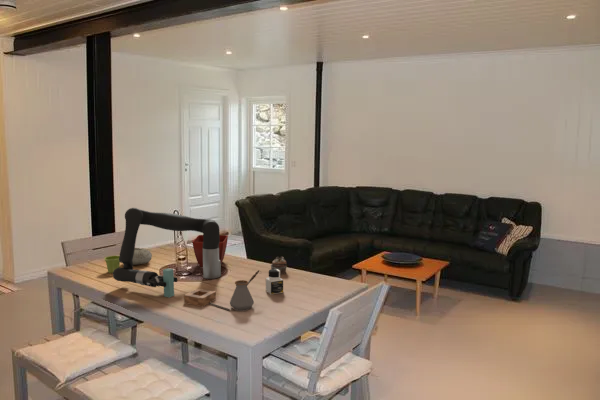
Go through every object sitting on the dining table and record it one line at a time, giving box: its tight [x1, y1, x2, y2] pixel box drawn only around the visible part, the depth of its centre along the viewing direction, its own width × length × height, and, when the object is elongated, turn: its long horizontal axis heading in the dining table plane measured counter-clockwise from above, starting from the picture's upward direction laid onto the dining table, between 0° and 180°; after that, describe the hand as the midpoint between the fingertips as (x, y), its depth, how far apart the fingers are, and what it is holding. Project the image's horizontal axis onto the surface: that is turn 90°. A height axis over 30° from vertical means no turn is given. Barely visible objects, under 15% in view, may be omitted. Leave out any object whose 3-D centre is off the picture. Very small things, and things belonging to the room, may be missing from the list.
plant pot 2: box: [192, 234, 229, 268], centre depth 309 cm, size 19×19×17 cm
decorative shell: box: [133, 247, 153, 266], centre depth 309 cm, size 18×18×10 cm
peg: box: [162, 267, 175, 298], centre depth 250 cm, size 4×4×14 cm
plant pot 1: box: [104, 255, 121, 274], centre depth 292 cm, size 9×9×9 cm
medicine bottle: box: [265, 268, 284, 295], centre depth 258 cm, size 7×7×12 cm
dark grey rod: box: [208, 302, 230, 312], centre depth 236 cm, size 14×1×1 cm, turn 51°
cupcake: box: [270, 256, 288, 276], centre depth 291 cm, size 10×10×10 cm
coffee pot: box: [229, 269, 262, 312], centre depth 238 cm, size 21×12×15 cm, turn 151°
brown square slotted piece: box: [183, 288, 217, 307], centre depth 244 cm, size 11×11×4 cm
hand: (171, 282), depth 250 cm, fingers open, 8 cm apart
